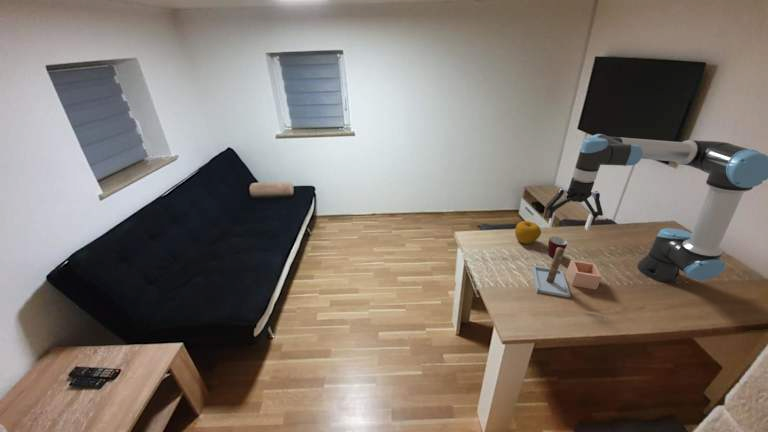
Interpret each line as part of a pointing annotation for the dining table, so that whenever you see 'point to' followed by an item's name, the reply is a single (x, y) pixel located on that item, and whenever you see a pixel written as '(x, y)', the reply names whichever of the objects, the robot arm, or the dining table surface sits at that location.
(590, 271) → the pink open square box
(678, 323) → the dining table surface
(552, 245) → the mug
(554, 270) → the dowel
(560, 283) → the tray
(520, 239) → the apple
